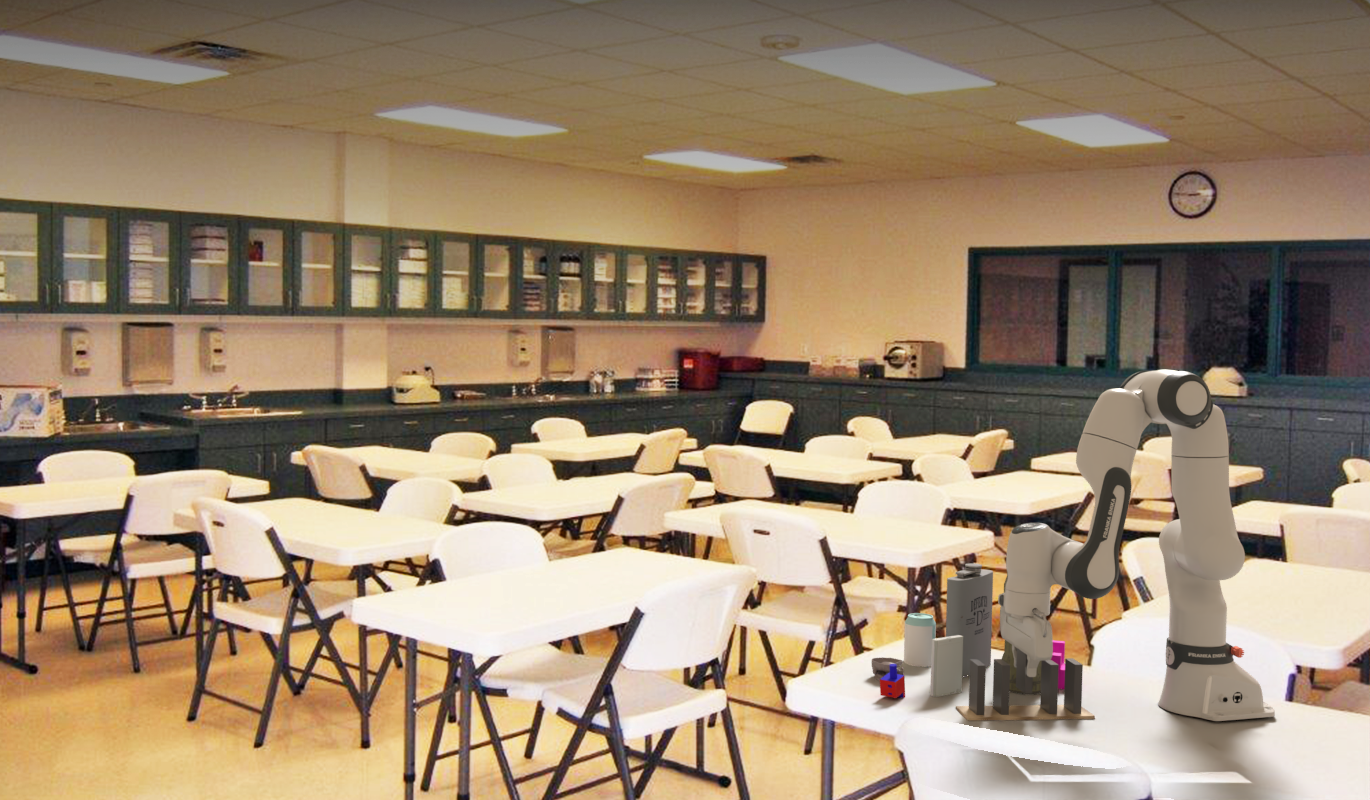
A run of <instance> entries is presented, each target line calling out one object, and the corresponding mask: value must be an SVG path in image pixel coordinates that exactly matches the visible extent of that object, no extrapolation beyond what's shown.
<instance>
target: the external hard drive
mask: <svg viewBox="0 0 1370 800" xmlns="http://www.w3.org/2000/svg"><path fill="white" fill-rule="evenodd" d="M962 663H963V636H961V635H956V636H949V637H946V636H944V637H938V638H937V637H936V639H932V655H931V666H930V685H929V686H930V691H929V695H930V696H931V697H933V698H936V697H938V698H939V697H942V696H949V695H953V694H958V693H959V692H960V693H962V690H963V688H962V687H963V686H962V685H963V677H962Z"/></svg>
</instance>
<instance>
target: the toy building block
mask: <svg viewBox="0 0 1370 800" xmlns="http://www.w3.org/2000/svg"><path fill="white" fill-rule="evenodd" d="M889 667H890V673H888V674H886V675H885V676H884V677H882V678H881V679H880V681H879V687H880V688H879V692H880V696H883V697H887V698H894V699H897V698H900V699H901V698H902V699H904V698H906V685H905V684H906V683H905V682H906V681H905V674H904V675H899V674H897V669H898V668H897V665H896V664H890V665H889Z"/></svg>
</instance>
